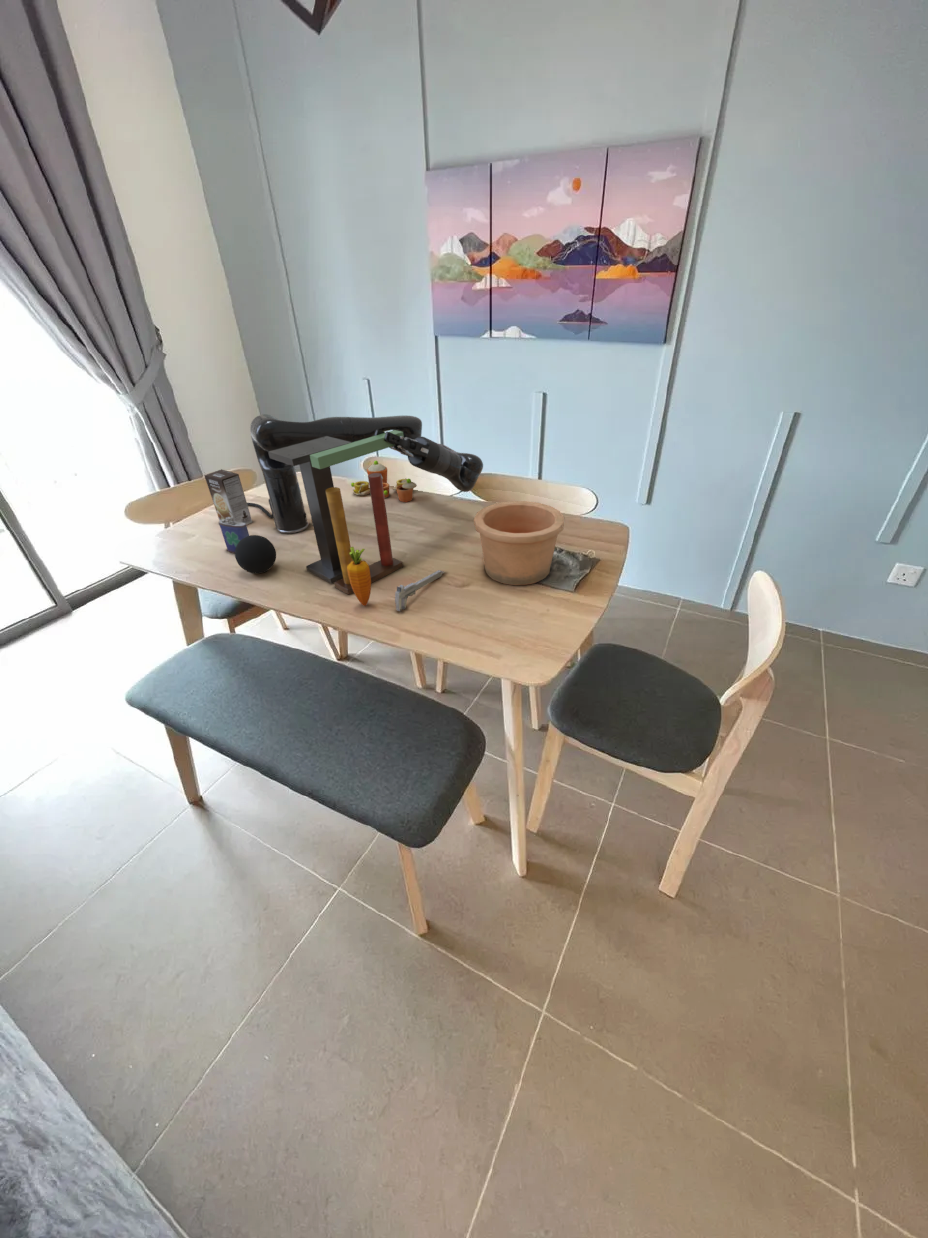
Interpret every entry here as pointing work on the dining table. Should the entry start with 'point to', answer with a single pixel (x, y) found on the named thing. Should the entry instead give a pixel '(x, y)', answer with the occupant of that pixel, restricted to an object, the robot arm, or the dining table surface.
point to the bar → (351, 450)
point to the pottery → (518, 540)
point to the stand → (316, 501)
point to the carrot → (359, 576)
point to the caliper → (412, 589)
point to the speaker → (255, 554)
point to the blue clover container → (233, 532)
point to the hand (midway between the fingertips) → (381, 435)
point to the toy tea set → (386, 484)
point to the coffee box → (228, 496)
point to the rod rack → (382, 531)
